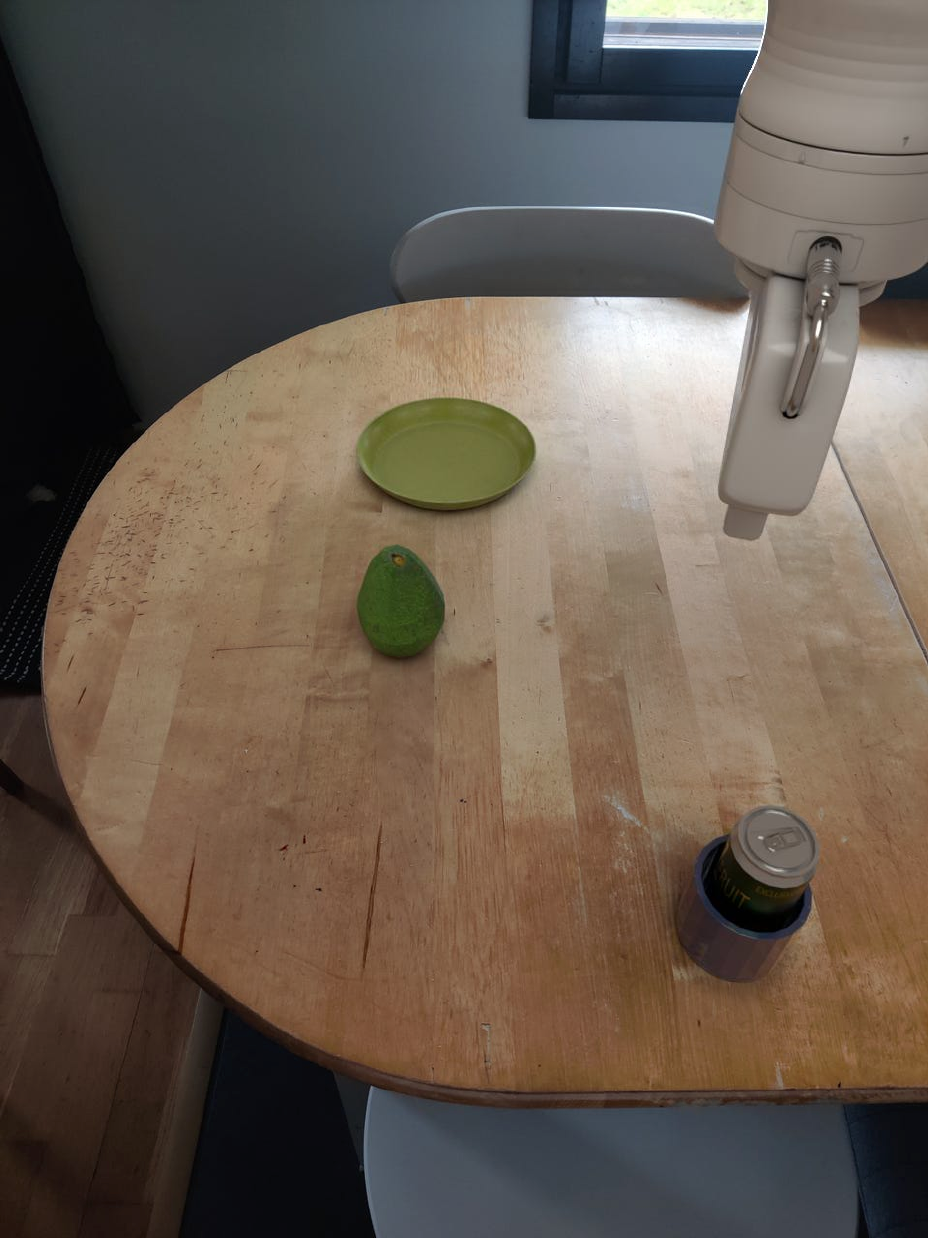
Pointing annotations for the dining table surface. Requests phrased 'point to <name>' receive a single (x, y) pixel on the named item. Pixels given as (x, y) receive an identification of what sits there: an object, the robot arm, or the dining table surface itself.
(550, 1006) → the dining table surface
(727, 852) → the dark green drink can
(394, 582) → the avocado
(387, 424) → the saucer
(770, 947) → the cup
